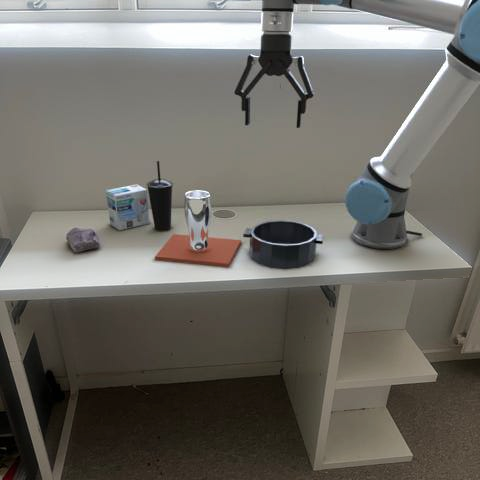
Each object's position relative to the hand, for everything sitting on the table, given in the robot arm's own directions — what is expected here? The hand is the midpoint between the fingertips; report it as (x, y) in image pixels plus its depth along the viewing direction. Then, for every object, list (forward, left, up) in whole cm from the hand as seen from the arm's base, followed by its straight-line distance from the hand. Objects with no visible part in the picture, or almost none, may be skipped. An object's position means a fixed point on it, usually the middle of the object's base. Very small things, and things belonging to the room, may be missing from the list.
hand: (272, 125), depth 133 cm
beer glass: (+17, +16, -30) cm, 38 cm away
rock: (+49, +20, -31) cm, 61 cm away
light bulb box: (+43, +1, -31) cm, 53 cm away
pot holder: (+17, +16, -31) cm, 38 cm away
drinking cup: (+32, +2, -31) cm, 45 cm away
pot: (-6, +13, -31) cm, 34 cm away
